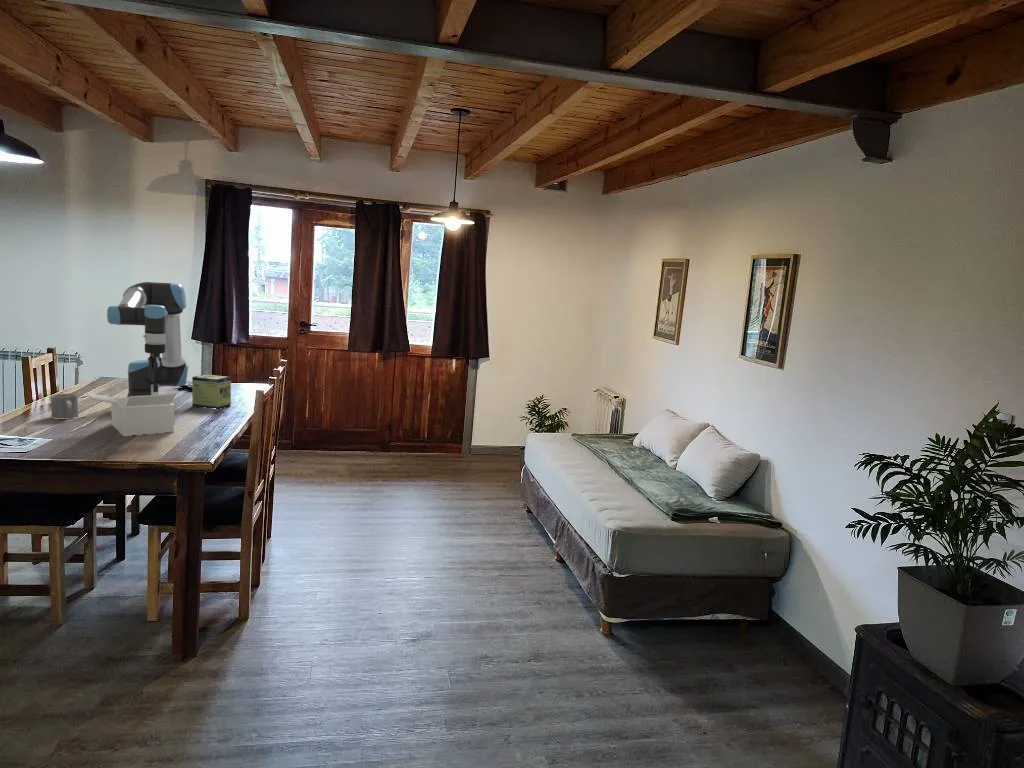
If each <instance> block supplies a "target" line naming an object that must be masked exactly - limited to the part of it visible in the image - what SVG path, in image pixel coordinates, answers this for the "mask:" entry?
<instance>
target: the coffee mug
mask: <svg viewBox="0 0 1024 768" xmlns="http://www.w3.org/2000/svg"><path fill="white" fill-rule="evenodd" d="M78 399H79V398H78V394H77V393H76V394H75V393H56V394H52V395H50V404H51V409H50V410H51V418H52V417H54V418H74V417H77V418H78V417H79V404H78V403H79V401H78ZM74 419H75V418H74Z"/></svg>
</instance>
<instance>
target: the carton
mask: <svg viewBox="0 0 1024 768" xmlns="http://www.w3.org/2000/svg"><path fill="white" fill-rule="evenodd" d="M112 398H113V399H114V400H115V401H117V402H118V403H111V426H112V425H113V426H114V427H115V428H116V429H117V430H118V431H119V432H120V433H121V434H122V435H123V436H124V437H132V435H136V436H144V435H143V434H147V435H156V434H155V433H159V434H165V433H164V432H170V433H174V432H175V423H176V419H175V417H176V416H175V411H176V409H175V404H174V403H173V402H172V403H171V404H155V405H139V406H126V404H127V401H128V399H129V397H127V396H126V397H112ZM113 426H112V427H113ZM114 427H113V428H114ZM115 428H114V429H115ZM116 429H115V430H116ZM117 430H116V431H117ZM118 431H117V432H118ZM119 432H118V433H119ZM120 433H119V434H120ZM121 434H120V435H121ZM122 435H121V436H122ZM123 436H122V437H123Z"/></svg>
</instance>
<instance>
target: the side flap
mask: <svg viewBox="0 0 1024 768" xmlns="http://www.w3.org/2000/svg"><path fill="white" fill-rule="evenodd" d="M86 395H87V396H88V397H89V398H90V399H92V401H96V402H97V401H99V402H104V403H109V404H110V403H118V402H117V401H115V400H114V399H113V398H114V397H112V396H107V395H101V394H94V393H87V394H86Z"/></svg>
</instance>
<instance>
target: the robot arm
mask: <svg viewBox="0 0 1024 768" xmlns="http://www.w3.org/2000/svg"><path fill="white" fill-rule="evenodd" d="M186 308H187V298H186V293H185V289H184V286H183V285H182V284H180V283H175V282H153V281H151V282H150V281H145V282H139V283H135V284H132V285H130V287H128V288H126V289H125V291H124V292H123V294H122V300H121V301H120V303H118V305H112V306H108V308H107V311H106V312H107V313H106V316H107V317H106V318H107V322H108V324H109V325H117V326H144V334H143V335H142V337H143V338H144V342H145V343H144V352H145V354H146V353H147V354H149V356H148V358H147V359H141V360H134V361H132V362H129V363H128V367H127V368H128V369H127V377H128V379H127V381H128V385H127V386H128V391H127V392H128V393H127V396H126V397H130V396H145V395H160V387H185V385H186V384H187V380H188V373H189V366H190V365H189V363H187V362H186V359H185V358H184V357H183V356H182V335H181V317H180V315H181V314H182V313H183V312H184V309H186Z"/></svg>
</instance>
